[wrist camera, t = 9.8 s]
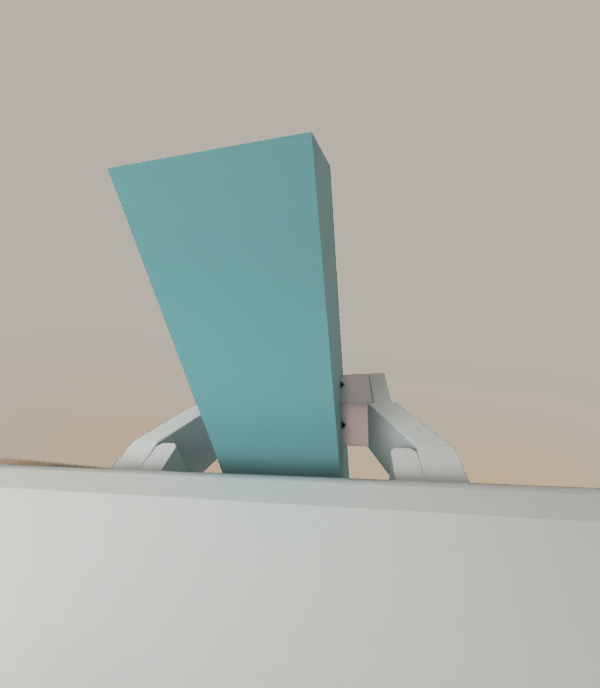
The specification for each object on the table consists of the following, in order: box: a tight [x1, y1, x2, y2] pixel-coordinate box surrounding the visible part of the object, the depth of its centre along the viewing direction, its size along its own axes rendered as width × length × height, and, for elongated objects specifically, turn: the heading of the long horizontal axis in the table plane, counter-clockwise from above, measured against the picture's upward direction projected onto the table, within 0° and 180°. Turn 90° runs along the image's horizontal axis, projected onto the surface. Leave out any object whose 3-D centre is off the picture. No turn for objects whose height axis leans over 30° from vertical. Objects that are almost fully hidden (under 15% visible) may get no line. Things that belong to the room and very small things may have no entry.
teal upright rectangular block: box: [108, 132, 349, 478], centre depth 10 cm, size 3×6×18 cm, turn 173°
